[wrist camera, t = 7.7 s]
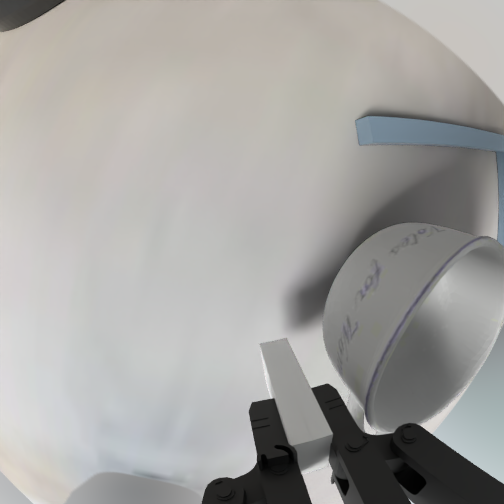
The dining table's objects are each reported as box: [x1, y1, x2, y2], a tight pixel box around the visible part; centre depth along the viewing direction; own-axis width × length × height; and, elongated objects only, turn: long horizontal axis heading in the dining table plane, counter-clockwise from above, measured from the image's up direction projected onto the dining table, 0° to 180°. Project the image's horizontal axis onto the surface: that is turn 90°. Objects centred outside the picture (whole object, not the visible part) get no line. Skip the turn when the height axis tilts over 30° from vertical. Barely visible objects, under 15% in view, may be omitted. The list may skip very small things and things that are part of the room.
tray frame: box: [355, 116, 504, 247], centre depth 16 cm, size 22×18×2 cm
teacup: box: [323, 222, 504, 435], centre depth 13 cm, size 14×11×8 cm
